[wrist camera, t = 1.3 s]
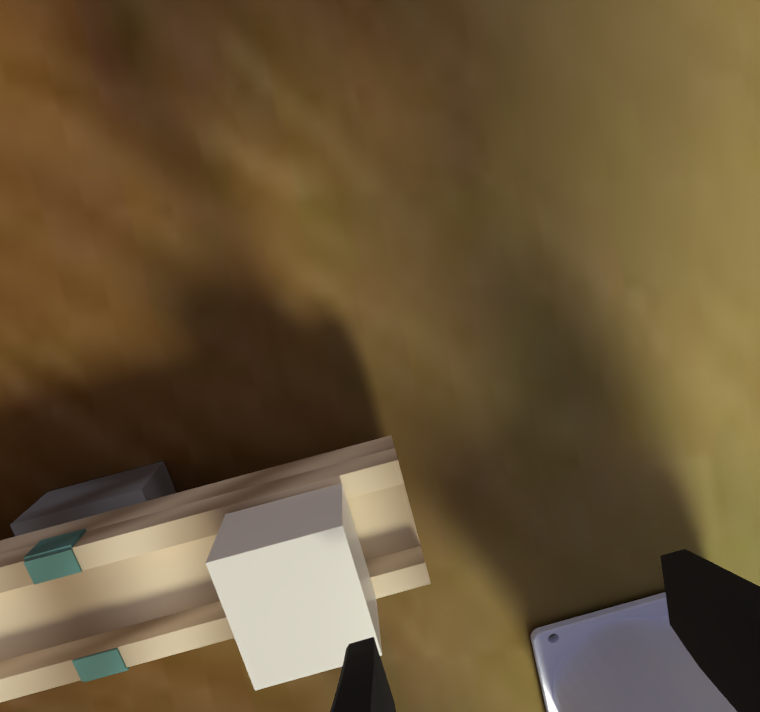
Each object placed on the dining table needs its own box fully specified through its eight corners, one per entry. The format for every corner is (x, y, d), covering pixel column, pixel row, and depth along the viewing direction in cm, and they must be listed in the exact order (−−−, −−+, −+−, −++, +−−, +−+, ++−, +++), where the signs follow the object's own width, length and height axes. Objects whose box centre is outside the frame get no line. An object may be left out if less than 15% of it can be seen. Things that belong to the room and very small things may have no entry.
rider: (341, 468, 18) (342, 525, 14) (373, 577, 19) (382, 655, 16) (231, 498, 18) (205, 562, 14) (270, 605, 19) (255, 690, 15)
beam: (382, 402, 22) (401, 473, 15) (414, 524, 23) (445, 637, 16) (-178, 552, 21) (-408, 692, 15) (-109, 666, 22) (-290, 841, 16)
